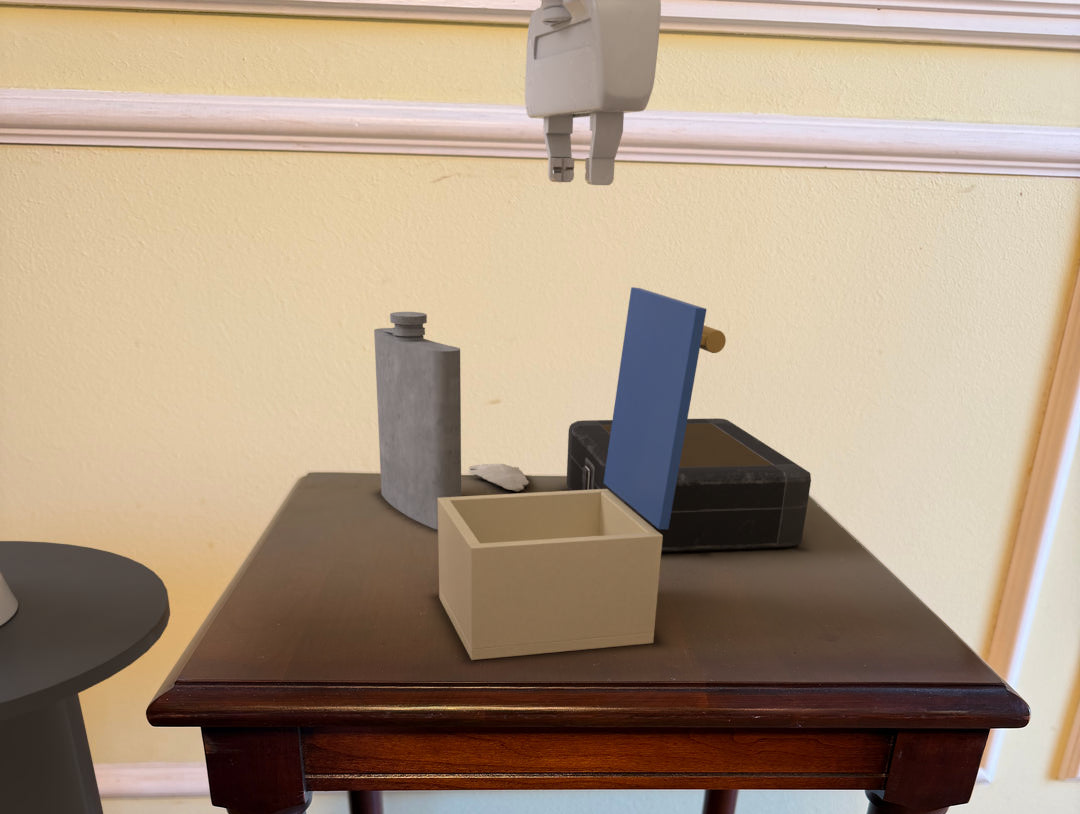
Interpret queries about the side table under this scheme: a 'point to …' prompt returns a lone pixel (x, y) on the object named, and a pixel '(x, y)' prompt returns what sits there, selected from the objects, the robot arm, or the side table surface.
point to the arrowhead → (501, 475)
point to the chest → (547, 572)
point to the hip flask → (417, 417)
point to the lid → (655, 400)
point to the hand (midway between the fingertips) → (579, 183)
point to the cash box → (711, 487)
